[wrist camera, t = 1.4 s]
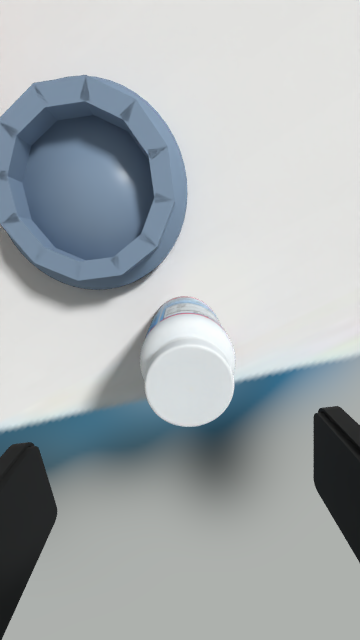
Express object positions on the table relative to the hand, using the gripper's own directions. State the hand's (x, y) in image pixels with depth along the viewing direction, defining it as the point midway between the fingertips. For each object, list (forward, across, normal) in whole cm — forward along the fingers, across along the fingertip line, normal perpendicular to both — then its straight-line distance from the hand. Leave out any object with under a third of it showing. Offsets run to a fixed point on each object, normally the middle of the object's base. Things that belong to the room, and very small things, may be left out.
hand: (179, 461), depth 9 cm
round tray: (+16, +5, -12) cm, 21 cm away
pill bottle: (+16, -1, 0) cm, 16 cm away
